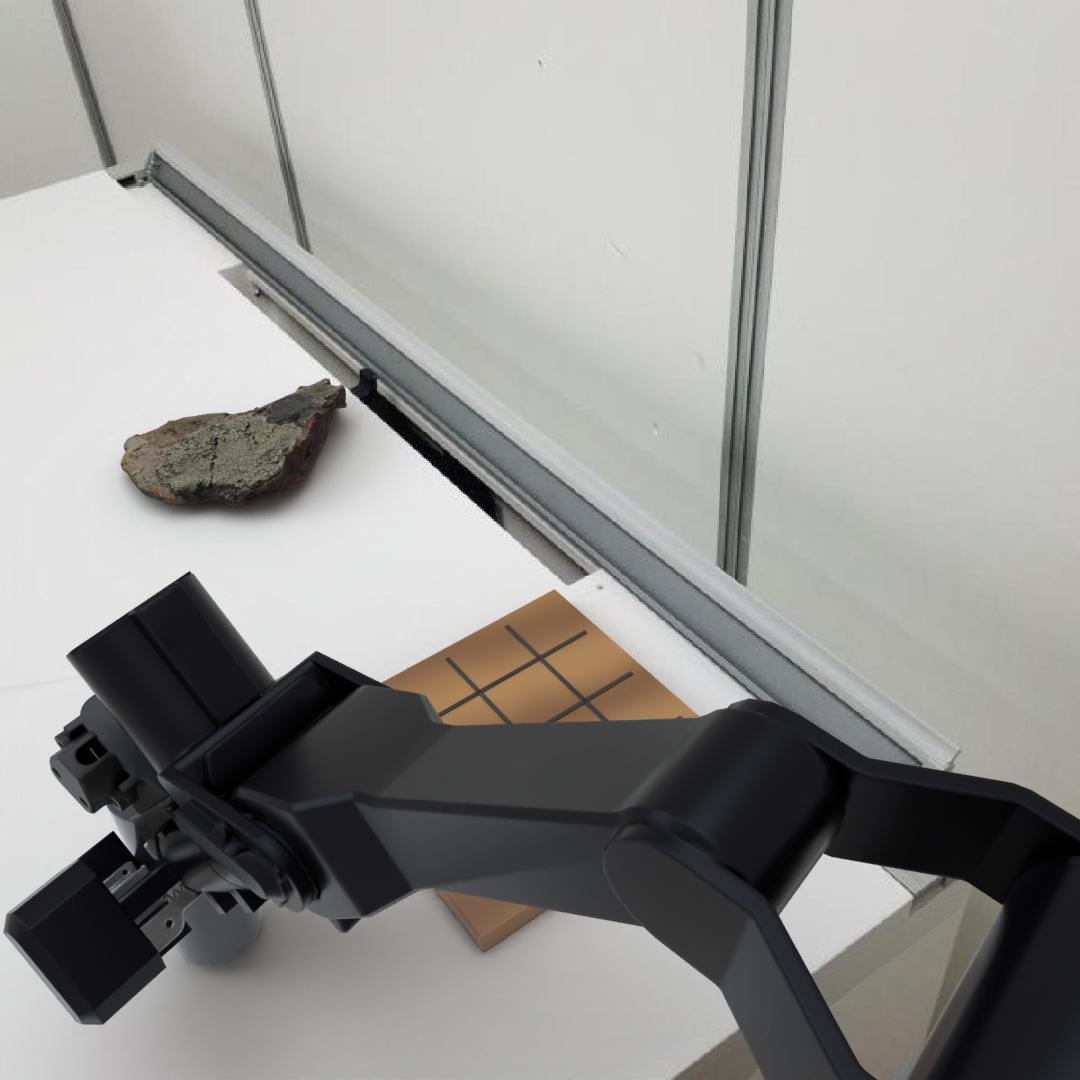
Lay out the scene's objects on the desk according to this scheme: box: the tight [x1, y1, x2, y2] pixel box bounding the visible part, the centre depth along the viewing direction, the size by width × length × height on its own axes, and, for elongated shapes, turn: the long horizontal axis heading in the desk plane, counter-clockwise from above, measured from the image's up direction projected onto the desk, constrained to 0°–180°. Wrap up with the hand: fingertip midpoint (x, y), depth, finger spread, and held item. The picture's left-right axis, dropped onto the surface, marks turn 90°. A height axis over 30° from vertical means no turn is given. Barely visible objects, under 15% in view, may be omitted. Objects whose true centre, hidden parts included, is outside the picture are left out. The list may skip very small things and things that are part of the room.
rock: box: [120, 377, 348, 508], centre depth 99 cm, size 20×17×5 cm
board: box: [380, 589, 700, 953], centre depth 74 cm, size 20×20×2 cm
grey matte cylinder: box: [105, 805, 263, 966], centre depth 61 cm, size 5×5×13 cm
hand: (172, 842), depth 61 cm, fingers closed on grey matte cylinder, 5 cm apart
